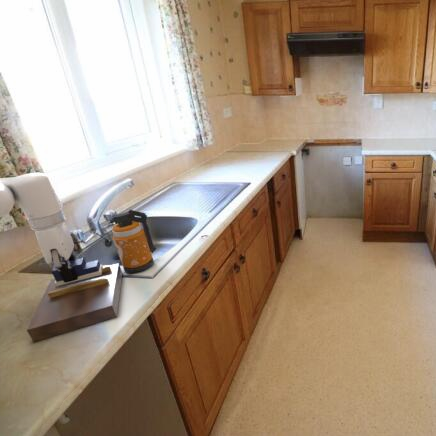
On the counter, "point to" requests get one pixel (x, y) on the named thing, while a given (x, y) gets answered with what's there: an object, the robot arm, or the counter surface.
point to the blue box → (79, 270)
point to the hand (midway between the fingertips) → (72, 275)
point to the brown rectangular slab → (77, 304)
